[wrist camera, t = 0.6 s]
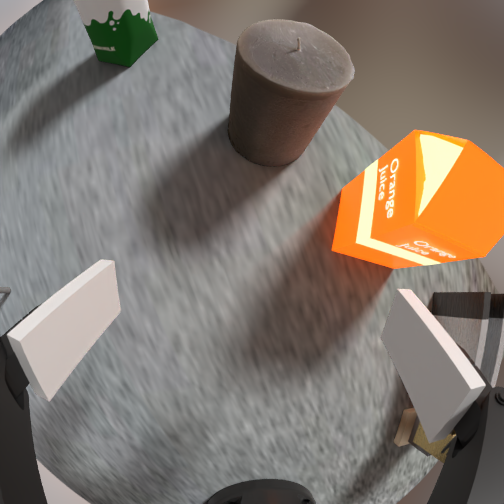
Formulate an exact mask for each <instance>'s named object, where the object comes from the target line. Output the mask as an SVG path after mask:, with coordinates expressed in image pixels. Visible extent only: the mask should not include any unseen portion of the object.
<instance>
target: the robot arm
mask: <svg viewBox="0 0 504 504" xmlns="http://www.w3.org/2000/svg"><path fill="white" fill-rule="evenodd" d="M120 312H121V308H120V302H119V295H118V288H117V281H116V273H115V264H114V261H111V260H103V259H101V260H100V261H98V262H97V263H95V264H94V265H93V266H91V267H90V268H88V269H87V270H86V271H84V272H83V273H82V274H80V275H79V276H78V277H76V278H75V279H74V280H72V281H71V282H70V283H68V284H67V285H66V286H64V287H63V288H62V289H61V290H59V291H58V292H57V293H55V294H54V295H53V296H52V297H50V298H49V299H48V300H47V301H45V302H44V303H43V304H41V305H39V306H37V307H35V308H34V309H33V310H32V311H30V312H29V314H27V315H26V316H24V317H23V319H22V320H20V321H19V322H17V323H16V324H15V325H14V326H13V327H12V328H11V329H9V330H8V331H7V332H6V333H5V334H4V335H3V336H2V337H0V504H47V500H46V497H45V494H44V490H43V486H42V483H41V479H40V474H39V470H38V465H37V461H36V455H35V450H34V444H33V437H32V429H31V420H30V409H29V395H28V391H27V390H26V387H27V385H28V384H29V383H30V385H31V387H32V389H33V391H34V392H35V394H36V395H38V396H40V397H42V398H43V399H45V400H47V401H49V402H50V400H51V399H52V398H53V396H54V395H55V393H56V392H57V391H58V389H59V388H60V387H61V385H62V384H63V383H64V381H65V380H66V379H67V377H68V376H69V375H70V373H71V372H72V371H73V370H74V368H75V367H76V366H77V364H78V363H79V362H80V361H81V359H82V358H83V357H84V356H85V354H86V353H87V352H88V351H89V349H90V348H91V347H92V346H93V344H94V343H95V342H96V341H97V339H98V338H99V337H100V336H101V335H102V333H103V332H104V331H105V330H106V328H107V327H108V326H109V325H110V324H111V323H112V321H113V320H114V319H115V318H116V317H117V315H118V314H119V313H120ZM381 339H382V341H383V343H384V345H385V347H386V349H387V351H388V353H389V355H390V357H391V359H392V361H393V363H394V365H395V367H396V369H397V371H398V373H399V375H400V378H401V380H402V382H403V384H404V386H405V388H406V390H407V393H408V395H409V397H410V399H411V401H412V404H413V406H414V408H415V411H416V413H417V415H418V418H419V420H420V422H421V425H422V427H423V430H424V432H425V434H426V437H427V439H428V442H429V443H432V442H435V441H439V440H442V439H445V438H446V437H447V436H448V434H449V433H450V432H451V431H452V430H453V429H454V430H455V432H456V435H455V436H454V438H453V439H452V440H451V441H450V442H449V443H448V444H447V445H446V446H445V447H444V448H443V450H442V451H441V453H444V452H445V451H446V450H447V449H448V448H449V451H448V453H447V454H446V455H447V456H446V459H445V462H444V465H443V468H442V470H441V473H440V476H439V478H438V480H437V483H436V485H435V488H434V490H433V492H432V494H431V496H430V499H429V501H428V503H427V504H504V388H502V387H494V388H492V386H491V385H490V383H489V382H488V381H487V379H486V378H485V376H484V375H483V373H482V372H481V371H480V369H479V368H478V367H477V366H475V363H474V361H473V360H472V359H470V358H471V357H470V356H469V355H468V353H467V352H466V351H465V349H463V348H462V347H461V346H459V345H458V344H457V343H456V342H454V341H453V339H452V338H451V337H450V336H449V334H448V333H447V332H446V331H445V329H444V328H443V327H442V326H441V325H440V323H439V322H438V321H437V320H436V318H435V317H434V316H433V315H432V314H431V313H430V311H429V310H428V309H427V308H426V307H425V306H424V304H423V303H422V302H421V301H420V300H419V299H418V298H417V296H416V295H415V294H414V293H413V292H412V291H411V290H410V289H397V291H396V294H395V297H394V301H393V304H392V307H391V310H390V313H389V316H388V319H387V321H386V324H385V327H384V330H383V333H382V335H381ZM207 504H316V502H315V500H314V498H313V496H312V494H311V493H310V491H309V490H308V489H306V488H305V487H303V486H302V485H300V484H297V483H294V482H291V481H286V480H278V479H262V480H253V481H247V482H242V483H239V484H235V485H232V486H230V487H227V488H225V489H223V490H221V491H219V492H218V493H216V494H215V495H214V496H213V497H211V499H210V500H209V501H208V502H207Z"/></svg>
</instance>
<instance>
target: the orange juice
mask: <svg viewBox="0 0 504 504" xmlns="http://www.w3.org/2000/svg"><path fill="white" fill-rule="evenodd" d="M503 235H504V168H503V167H501V166H500V165H499V164H498V163H497V162H496V161H495V160H493V159H492V158H491V157H490V156H489V155H487V154H486V153H485V152H483V151H482V150H481V149H480V148H479V147H477V146H476V145H475V144H473V143H472V142H471V141H469V140H464V139H460V138H456V137H451V136H446V135H441V134H436V133H431V132H425V131H419V130H414V131H413V132H412V133H410V134H409V135H408V136H407V137H406V138H404V139H403V140H402V141H401V142H399V143H398V144H397V145H396V146H394V147H393V148H392V149H391V150H389V151H388V152H387V153H386V154H385V155H383V156H382V157H381V158H380V159H377V160H376V161H375V162H374V163H372V164H371V165H370V166H369V167H368V168H366V169H365V171H364V172H362V173H361V174H360V175H359V176H357V177H356V178H355V179H354V180H352V181H351V182H350V183H349V184H347V185H346V186H345V187H344V188H343V189H342V192H341V199H340V205H339V212H338V218H337V224H336V229H335V235H334V241H333V246H332V251H335V252H338V253H342V254H345V255H349V256H352V257H356V258H359V259H363V260H366V261H370V262H373V263H376V264H380V265H383V266H387V267H390V268H393V269H396V268H404V267H412V266H420V265H432V264H440V263H444V262H451V261H458V260H465V259H472V258H479V257H485V256H486V254H487V253H488V252H489V251H490V250H491V249H492V247H493V246H494V245H495V244H496V243H497V242H498V240H499V239H500V238H501V237H502V236H503Z"/></svg>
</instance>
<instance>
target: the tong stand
mask: <svg viewBox="0 0 504 504" xmlns="http://www.w3.org/2000/svg"><path fill="white" fill-rule="evenodd" d="M419 423H420V420H419V418H418V415H417V413H416V411H415V408H410V409H404V411H403V414H402V418H401V421H400V424H399V427H398V430H397V433H396V436H395V439H394V443H395V444H396V445H397V446H398V447H399V446H403V445H407V444H412V445H413V446H414V447H416V448H417V449H418V450H420V451H421V452H422V453H424V454H425V455H427V456H430V455H431V454H430V453H428V452H427V451H425V450H424V449H423V448H421V447H420V446H418V445H417V444H416V443H414V442H413V440H414V437H415V434H416V431H417V429H418V426H419ZM452 432H453V430H452V431H451V432H450V433H449V434H452Z"/></svg>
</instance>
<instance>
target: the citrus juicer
mask: <svg viewBox="0 0 504 504" xmlns="http://www.w3.org/2000/svg"><path fill="white" fill-rule="evenodd" d="M10 292H11V289H10V287H0V293H10Z"/></svg>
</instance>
